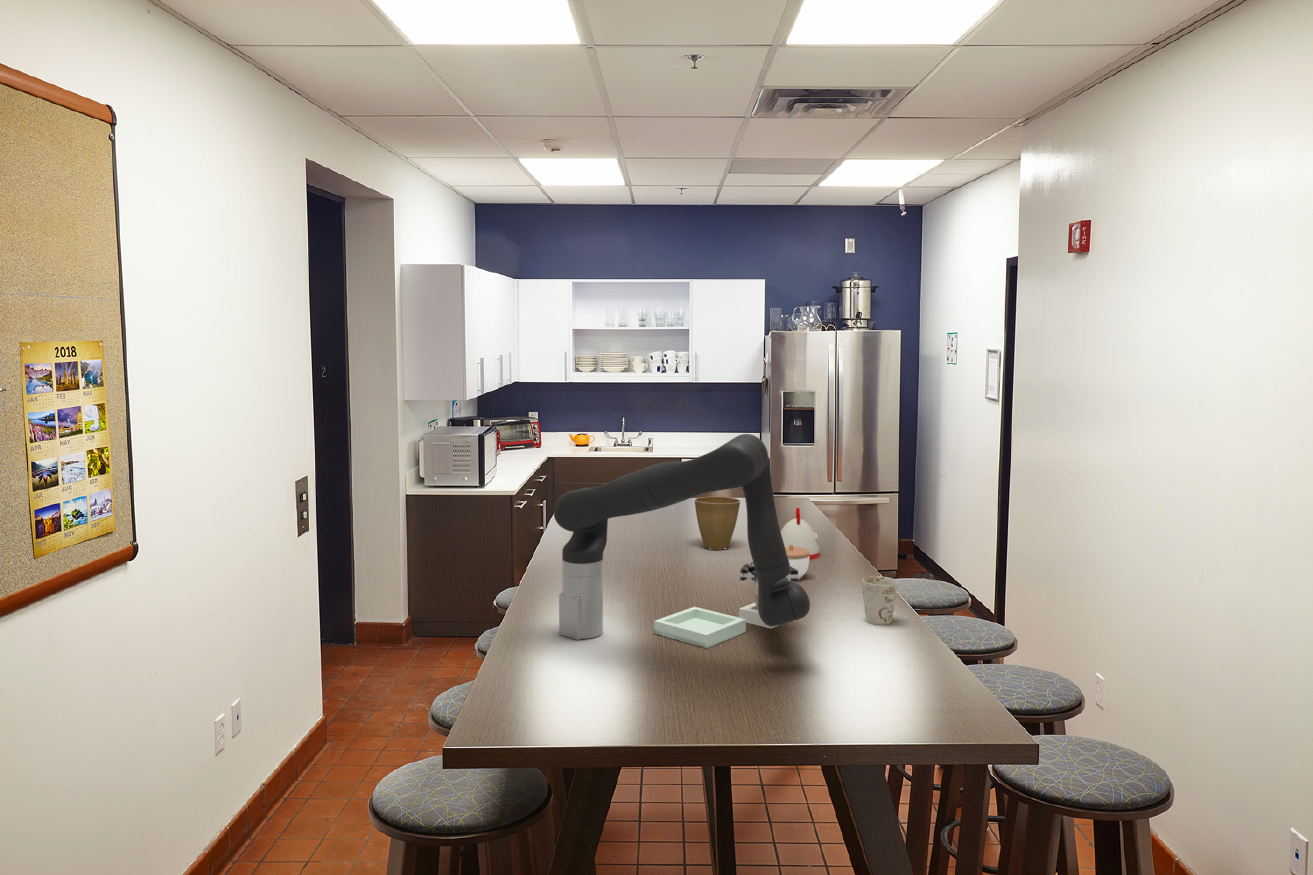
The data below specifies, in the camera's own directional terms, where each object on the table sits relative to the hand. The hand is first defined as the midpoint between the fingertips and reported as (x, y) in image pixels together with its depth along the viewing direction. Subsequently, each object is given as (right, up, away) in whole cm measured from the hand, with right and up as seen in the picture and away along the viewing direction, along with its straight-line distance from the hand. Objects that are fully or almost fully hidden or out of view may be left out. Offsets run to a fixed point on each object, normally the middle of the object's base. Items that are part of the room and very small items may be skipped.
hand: (764, 565), depth 215 cm
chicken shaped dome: (+18, -7, +66) cm, 69 cm away
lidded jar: (+12, -9, +39) cm, 42 cm away
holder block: (0, -13, -1) cm, 13 cm away
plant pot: (-6, -5, +76) cm, 76 cm away
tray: (-16, -14, -11) cm, 24 cm away
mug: (+27, -13, +1) cm, 30 cm away
